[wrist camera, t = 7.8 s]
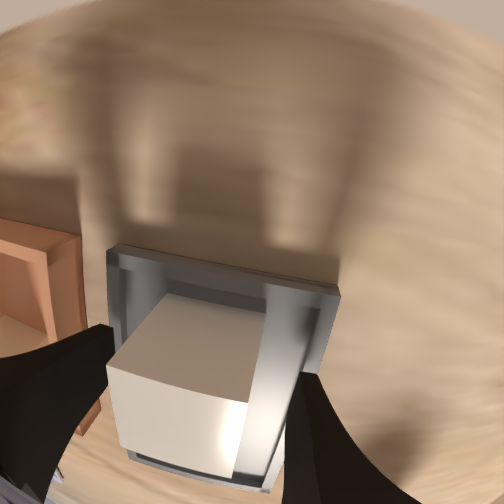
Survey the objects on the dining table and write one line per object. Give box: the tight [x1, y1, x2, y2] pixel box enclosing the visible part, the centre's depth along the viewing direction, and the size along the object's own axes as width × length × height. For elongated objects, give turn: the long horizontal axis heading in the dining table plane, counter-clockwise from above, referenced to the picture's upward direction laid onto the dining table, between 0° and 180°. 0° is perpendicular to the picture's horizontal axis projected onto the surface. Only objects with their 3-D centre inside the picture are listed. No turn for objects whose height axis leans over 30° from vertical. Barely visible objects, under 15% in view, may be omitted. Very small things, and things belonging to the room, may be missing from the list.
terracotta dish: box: [0, 218, 101, 437], centre depth 14 cm, size 11×9×2 cm
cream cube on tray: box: [106, 293, 266, 478], centre depth 11 cm, size 4×4×5 cm
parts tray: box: [106, 244, 341, 494], centre depth 14 cm, size 14×9×1 cm, turn 172°
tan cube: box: [0, 314, 49, 358], centre depth 13 cm, size 4×4×5 cm
